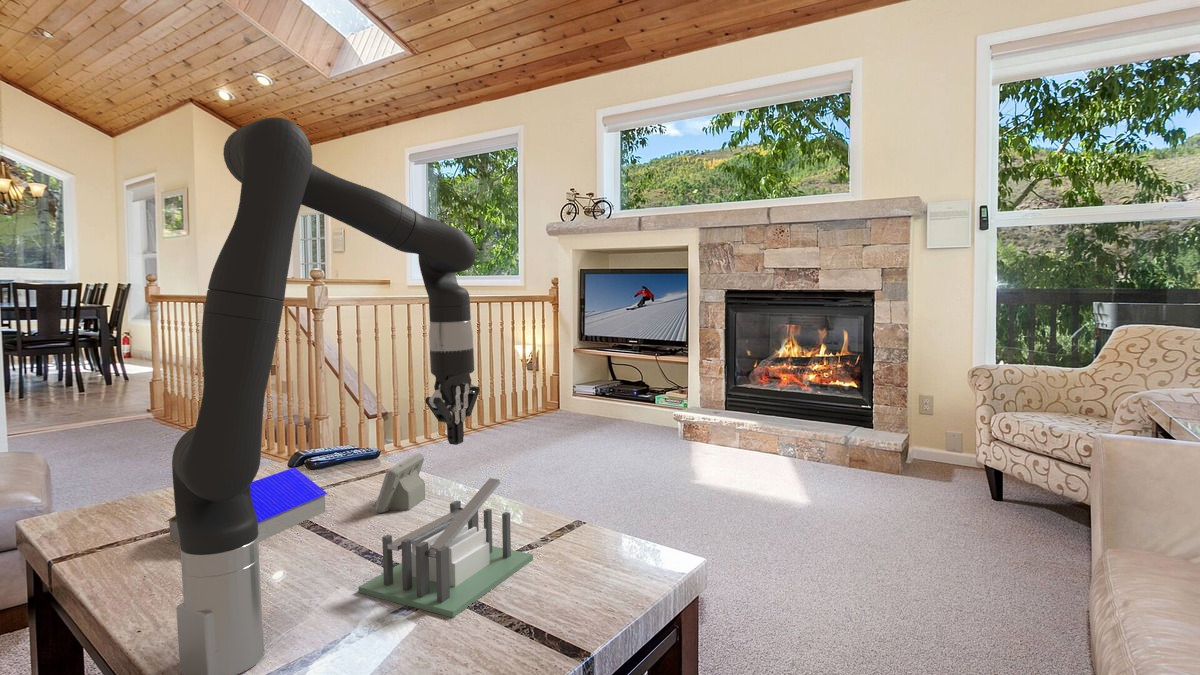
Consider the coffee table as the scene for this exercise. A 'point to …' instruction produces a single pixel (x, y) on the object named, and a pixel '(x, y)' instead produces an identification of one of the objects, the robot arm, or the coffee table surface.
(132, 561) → the coffee table surface
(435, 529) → the strap
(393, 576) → the heatsink board
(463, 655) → the coffee table surface
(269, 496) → the blue ribbed slab
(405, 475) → the digital clock
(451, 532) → the strap
